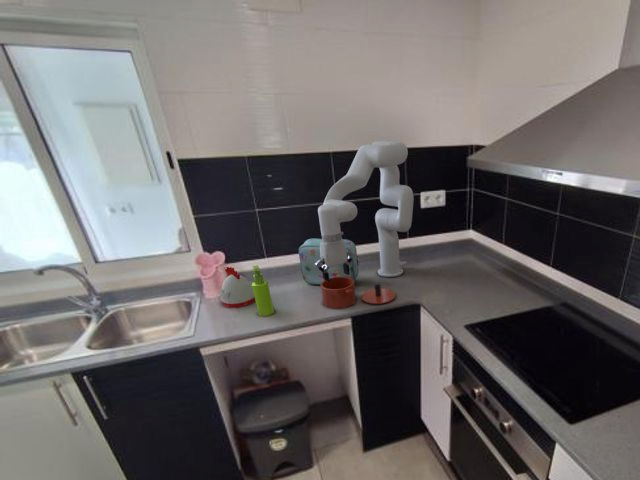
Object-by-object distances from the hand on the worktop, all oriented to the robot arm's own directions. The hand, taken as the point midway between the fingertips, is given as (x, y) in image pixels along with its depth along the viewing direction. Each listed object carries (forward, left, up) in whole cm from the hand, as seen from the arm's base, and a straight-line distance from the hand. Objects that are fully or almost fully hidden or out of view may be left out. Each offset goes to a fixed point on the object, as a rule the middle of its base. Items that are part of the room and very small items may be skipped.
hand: (336, 277), depth 157 cm
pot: (0, 0, -11) cm, 11 cm away
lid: (-14, +9, -10) cm, 20 cm away
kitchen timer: (+30, -32, -11) cm, 45 cm away
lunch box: (-9, -19, -11) cm, 24 cm away
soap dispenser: (+27, -12, -11) cm, 32 cm away
